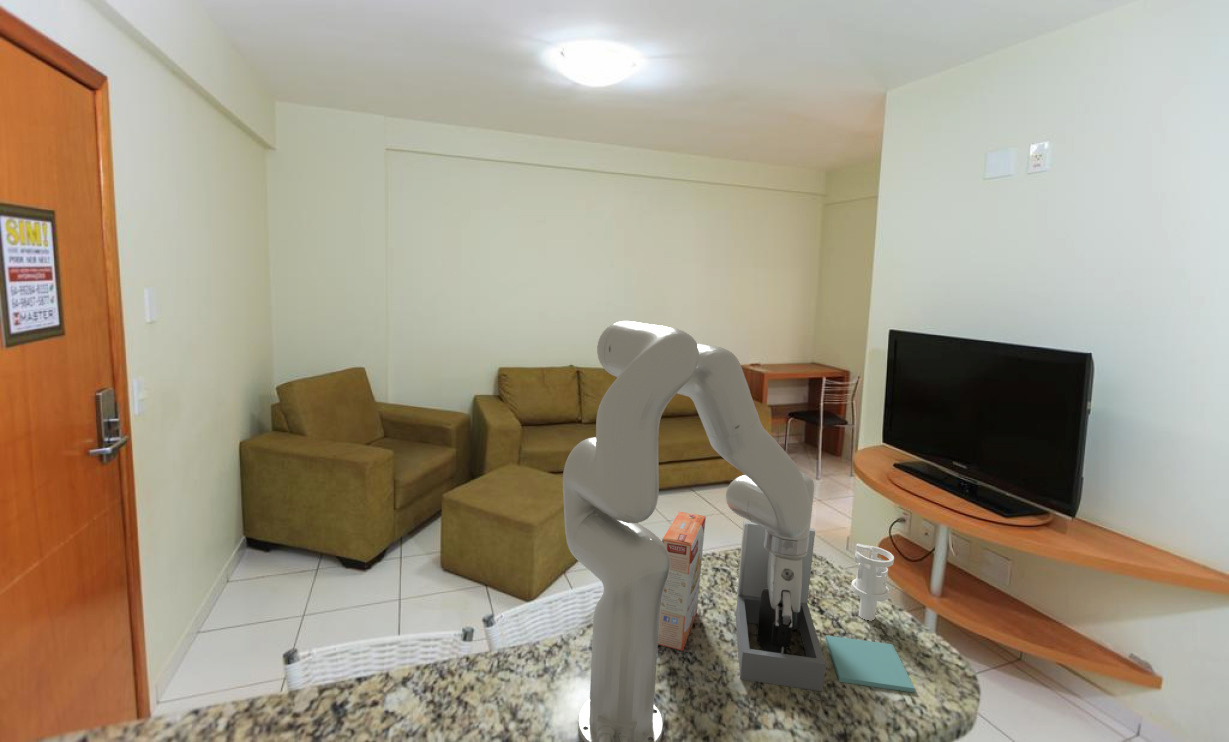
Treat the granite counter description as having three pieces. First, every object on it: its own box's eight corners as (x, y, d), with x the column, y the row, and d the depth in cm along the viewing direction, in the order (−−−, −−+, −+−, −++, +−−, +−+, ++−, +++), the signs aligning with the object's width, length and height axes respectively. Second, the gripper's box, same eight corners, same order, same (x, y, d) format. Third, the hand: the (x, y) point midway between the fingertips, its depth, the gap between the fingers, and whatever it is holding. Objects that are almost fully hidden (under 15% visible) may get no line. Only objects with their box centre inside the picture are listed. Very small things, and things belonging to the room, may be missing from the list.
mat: (914, 692, 96) (914, 688, 96) (839, 681, 98) (839, 677, 98) (892, 648, 108) (892, 644, 108) (825, 639, 110) (825, 635, 110)
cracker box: (685, 653, 104) (693, 544, 100) (653, 645, 105) (659, 537, 102) (699, 612, 117) (707, 514, 113) (670, 605, 119) (677, 509, 115)
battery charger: (795, 661, 103) (801, 602, 101) (777, 665, 101) (783, 605, 100) (772, 638, 109) (777, 582, 107) (755, 641, 108) (760, 585, 106)
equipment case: (822, 691, 95) (835, 579, 92) (740, 679, 97) (750, 569, 94) (803, 623, 114) (814, 528, 111) (735, 614, 117) (743, 520, 113)
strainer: (849, 603, 123) (857, 537, 120) (885, 613, 119) (894, 545, 117) (846, 620, 116) (855, 550, 114) (885, 630, 113) (894, 559, 111)
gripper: (816, 566, 93) (806, 662, 96) (800, 523, 110) (792, 605, 113) (769, 561, 94) (760, 656, 97) (760, 518, 111) (752, 600, 114)
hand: (777, 628), depth 105 cm, fingers open, 9 cm apart
